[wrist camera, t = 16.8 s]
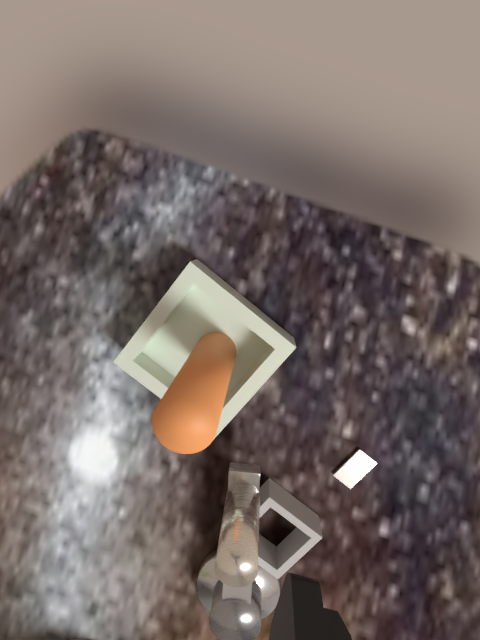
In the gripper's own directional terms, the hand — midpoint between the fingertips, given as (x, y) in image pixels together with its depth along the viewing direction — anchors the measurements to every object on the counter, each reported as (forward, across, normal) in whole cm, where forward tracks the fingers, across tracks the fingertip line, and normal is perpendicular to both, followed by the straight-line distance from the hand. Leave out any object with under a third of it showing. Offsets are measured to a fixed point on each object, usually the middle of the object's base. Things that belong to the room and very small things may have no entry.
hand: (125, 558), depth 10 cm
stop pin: (+19, 0, 0) cm, 19 cm away
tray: (+19, +1, 0) cm, 19 cm away
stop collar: (+20, -7, +13) cm, 25 cm away
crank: (+18, -5, +15) cm, 24 cm away
